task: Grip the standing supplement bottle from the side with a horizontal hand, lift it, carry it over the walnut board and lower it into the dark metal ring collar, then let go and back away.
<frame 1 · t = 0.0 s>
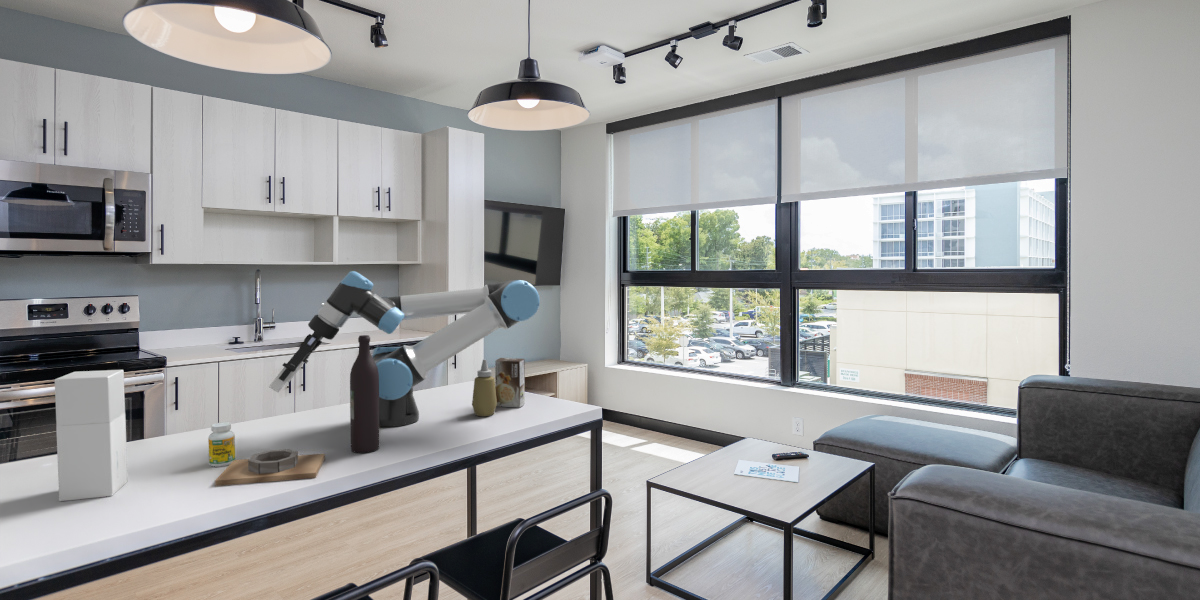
hand: (279, 384, 163), 15 cm above the table, tool tilted 35°, fingers open, 13 cm apart
squeeze bottle: (484, 415, 194), on the table
supplement bottle: (222, 464, 144), on the table
wine bottle: (365, 450, 156), on the table
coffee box: (510, 405, 207), on the table
tall white carton: (95, 492, 126), on the table
board: (273, 471, 139), on the table
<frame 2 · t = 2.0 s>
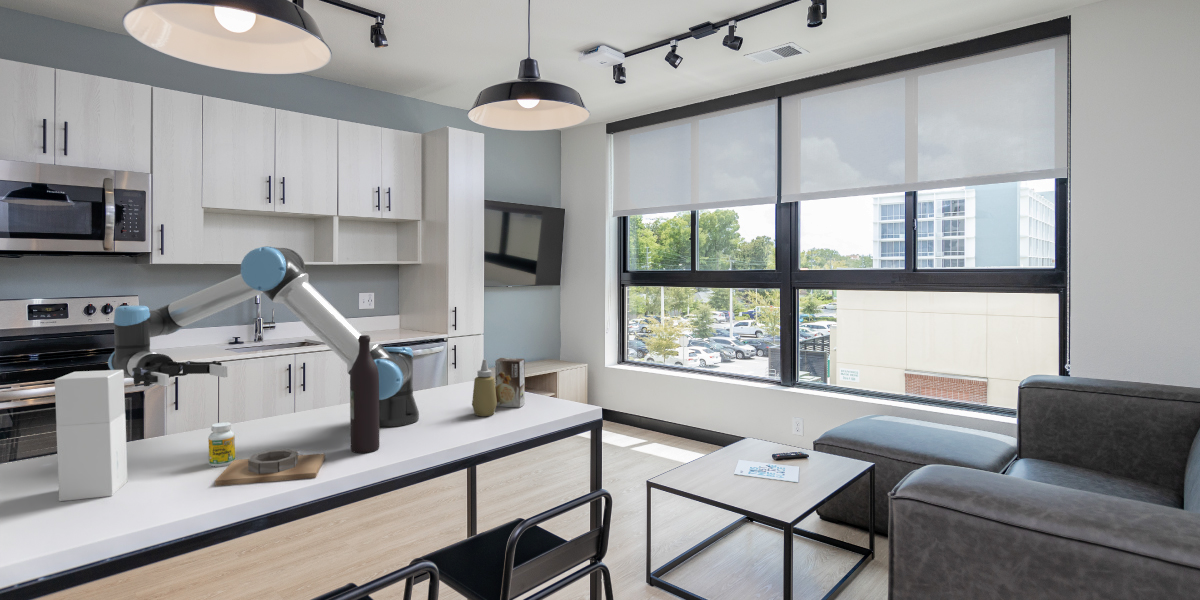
hand: (197, 376, 147), 20 cm above the table, tool horizontal, fingers open, 13 cm apart
nothing on the table moved.
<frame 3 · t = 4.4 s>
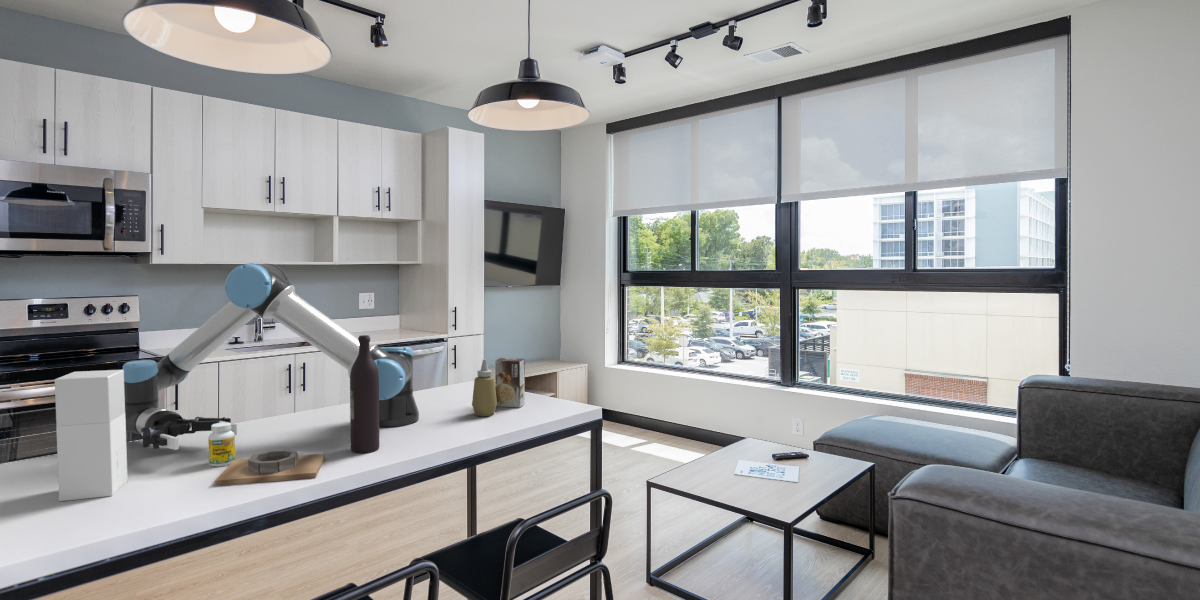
hand: (207, 436, 146), 6 cm above the table, tool horizontal, fingers open, 13 cm apart
nothing on the table moved.
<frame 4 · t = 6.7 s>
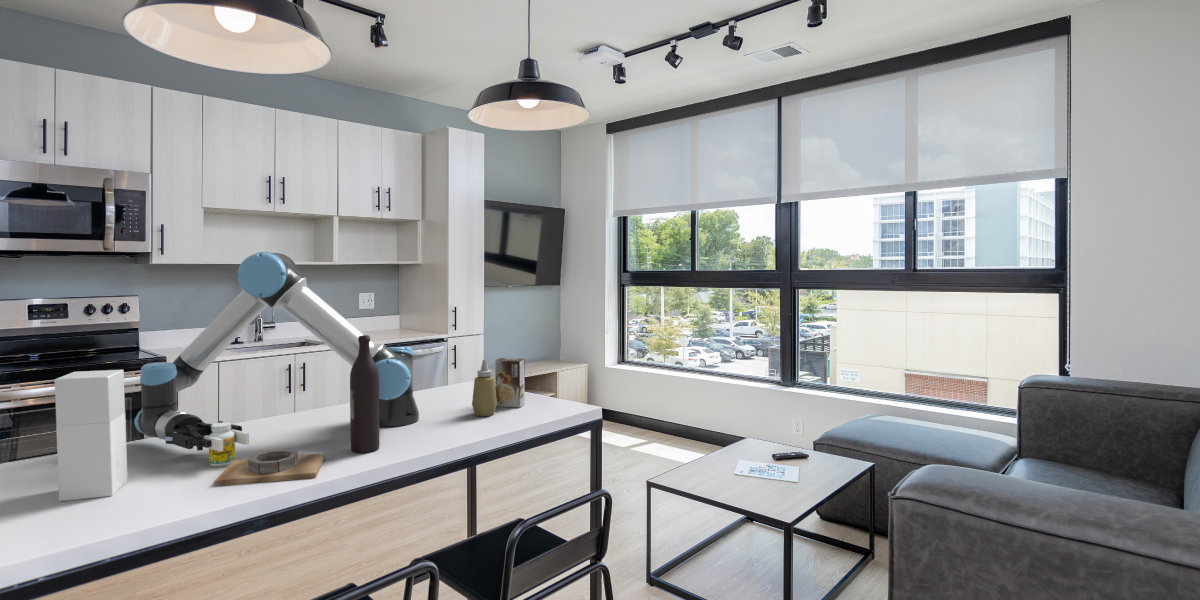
hand: (234, 442, 141), 6 cm above the table, tool horizontal, fingers closed on supplement bottle, 5 cm apart
supplement bottle: (222, 464, 144), on the table, touching gripper
everything else where it was.
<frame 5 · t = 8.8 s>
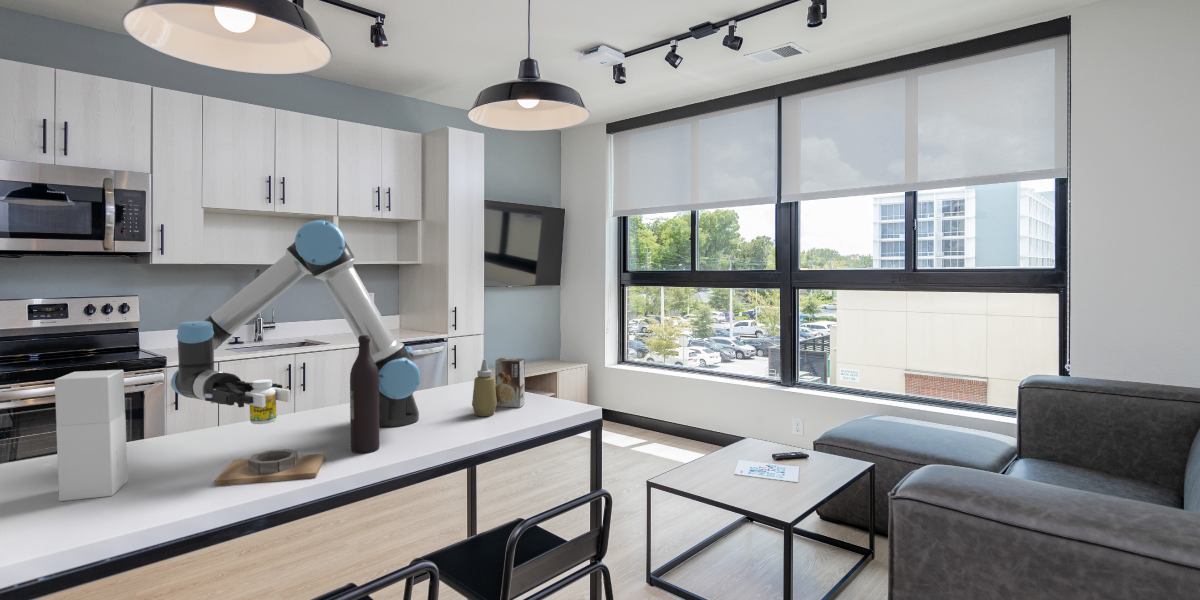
hand: (276, 398, 136), 18 cm above the table, tool horizontal, fingers closed on supplement bottle, 5 cm apart
supplement bottle: (263, 422, 139), point 11 cm above the table, touching gripper
everything else where it was.
when the fingers open (9 cm above the table, at t = 11.0 s): supplement bottle drops 2 cm, resting on board.
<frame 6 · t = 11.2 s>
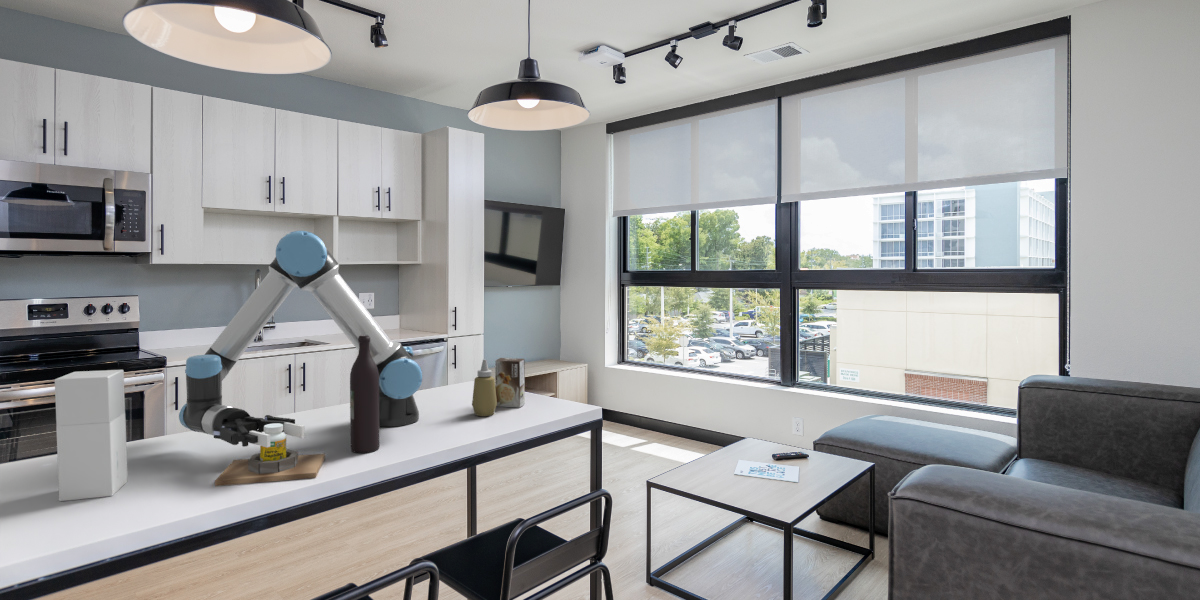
hand: (286, 436, 136), 9 cm above the table, tool horizontal, fingers open, 8 cm apart
supplement bottle: (273, 466, 139), point 1 cm above the table, touching board
everything else where it was.
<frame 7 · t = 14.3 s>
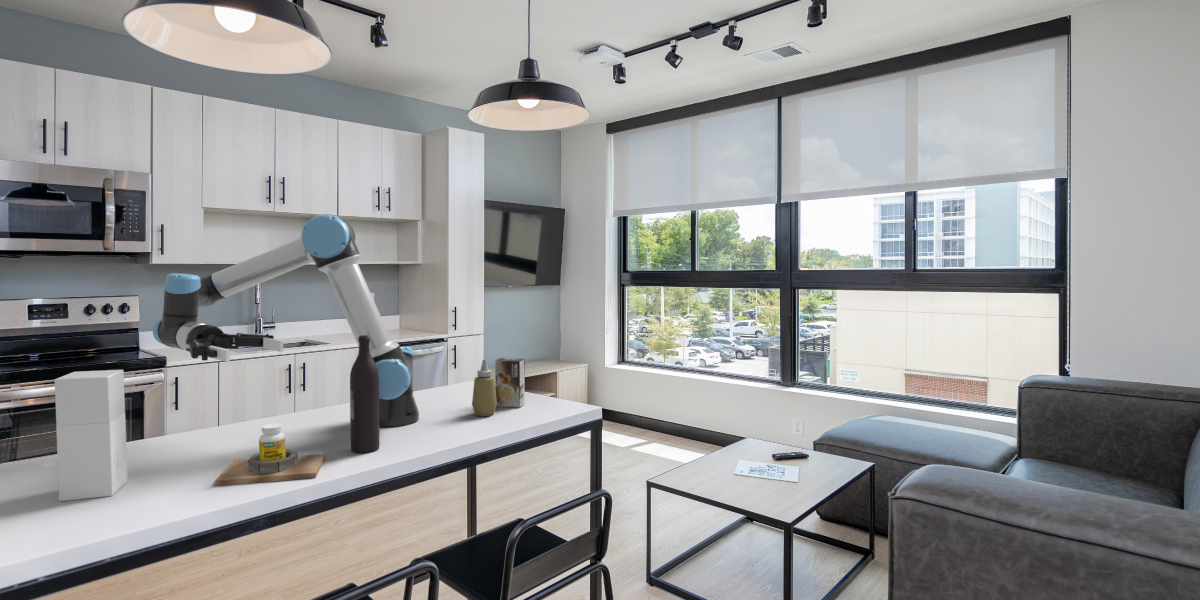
hand: (256, 350, 143), 27 cm above the table, tool horizontal, fingers open, 13 cm apart
nothing on the table moved.
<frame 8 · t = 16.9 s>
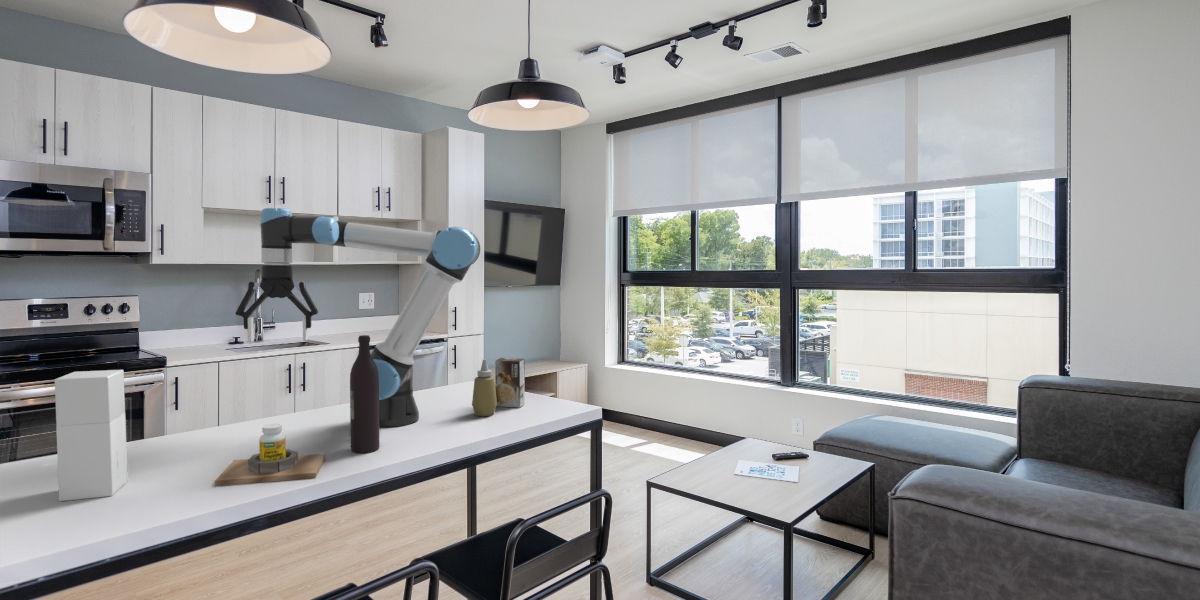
hand: (278, 340, 167), 27 cm above the table, tool pointing down, fingers open, 13 cm apart
nothing on the table moved.
at the end: supplement bottle 0.1 cm from the board (horizontally); supplement bottle tilted 0°; the gripper is holding nothing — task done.
